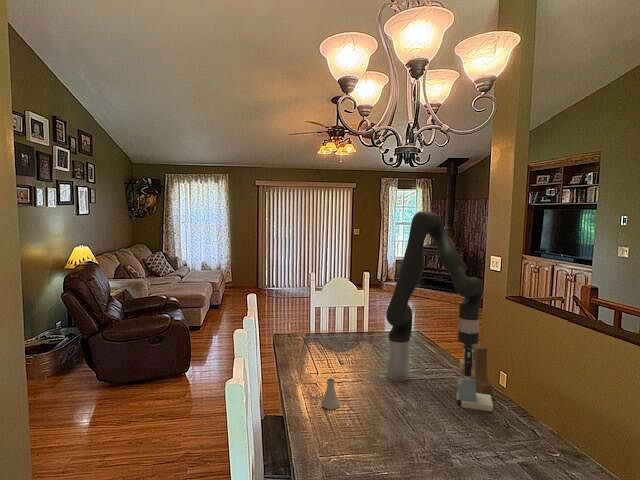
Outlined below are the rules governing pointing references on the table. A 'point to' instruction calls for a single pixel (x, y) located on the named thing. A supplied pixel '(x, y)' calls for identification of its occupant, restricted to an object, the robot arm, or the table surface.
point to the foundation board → (478, 402)
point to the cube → (467, 389)
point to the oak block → (462, 368)
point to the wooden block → (481, 370)
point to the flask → (330, 396)
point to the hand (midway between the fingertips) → (467, 372)
